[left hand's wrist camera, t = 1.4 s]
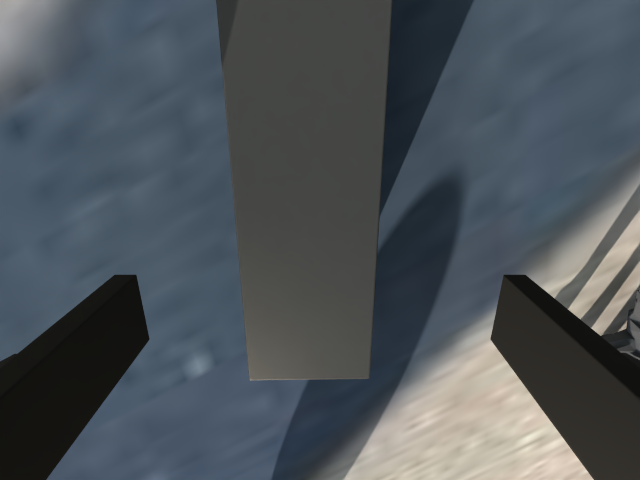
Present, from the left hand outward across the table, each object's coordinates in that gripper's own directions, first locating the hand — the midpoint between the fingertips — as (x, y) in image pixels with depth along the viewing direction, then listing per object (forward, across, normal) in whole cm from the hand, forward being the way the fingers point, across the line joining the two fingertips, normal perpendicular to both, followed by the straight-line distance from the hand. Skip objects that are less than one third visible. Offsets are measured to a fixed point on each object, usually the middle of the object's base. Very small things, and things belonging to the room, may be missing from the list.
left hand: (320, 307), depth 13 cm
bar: (+10, +1, -7) cm, 12 cm away
